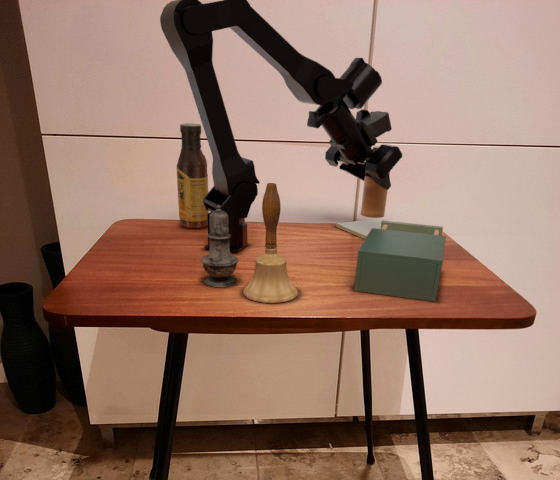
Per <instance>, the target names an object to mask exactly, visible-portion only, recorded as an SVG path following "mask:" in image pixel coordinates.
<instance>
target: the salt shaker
mask: <svg viewBox="0 0 560 480" xmlns="http://www.w3.org/2000/svg"><path fill="white" fill-rule="evenodd" d="M220 208H221V207H220V205H219V204H218V205H217V210H215V211H213V212H211V213H210V212H209V213H210V215H209V225H210V233H209V234H208V233H207V234H206V236H207V238H208V237H209V242H210V249H209V250H208V254H207V255H204V256H202V257H201V259H200V262H201V263H202V267H203V270H204V272H205V273H207V274H208V275H207V276H206V277H205V278H203V280H202V281H203V284H204V285H206V286H209V287H213V288H228V287H232V286H234V285H237V283H238V280H237V278H235V277H234V276H232V275H233V274H234V273H235V271H236V269H237V266H238V263H239V257H237V256H236V255H233V254H231V253H232V252H230V249H229V238H230V237H231V234H229V219H228V214H227V213H226V212H224V211H222V210H221V209H220Z"/></svg>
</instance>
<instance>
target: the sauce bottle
mask: <svg viewBox="0 0 560 480" xmlns="http://www.w3.org/2000/svg"><path fill="white" fill-rule="evenodd" d="M179 132H180V135H181V137H180V138H181V145H180V146H181V149H180V152H179V156H178V159H177V164H176V183H177V202H178V204H177V205H178V218H179V224H180V225H181V227H183V228H185V229H204V228H206V227H208V226H207V214H208V213H210V211H207V210H206V209H205V206H204V203H203V198H204V197H205V196H206V195H207V194H208V192H209V175H208V174H209V173H208V160H207V157H206V155H205V154H204V153H203V150H202V149H201V148H202V143H201V142H202V140H201V135H202V125H201V124H200V123H193V122H191V123H190V122H186V123H181V124H180V125H179Z"/></svg>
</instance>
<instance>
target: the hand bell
mask: <svg viewBox="0 0 560 480" xmlns="http://www.w3.org/2000/svg"><path fill="white" fill-rule="evenodd" d="M261 203H262V204H261V209H262V210H261V213H262V219H263V223H264V226H265V241H264V243H265V245H264V248H265V249H264V253H263V254H261V255H259V256H257V258H256V259H255V265H254V272H253V275H252V277H251V280H250V281H249V282H248V284H247V285H245V286H244V289H243V290H242V293H243V296H244V297H246V298H247V299H249V300H251V301H254V302H258V303H265V304H279V303H285V302H290V301H292V300H294V299H295V298H296V297H298V295H299V291H298V289H297V287H296V286H295V285H294V284H293V283H292V281H291V280H290V277H289V273H288V267H287V260H286V258H285V257H284V256H283V255H281V254H278V244H277V241H278V239H277V229H278V224H279V221H280V217H281V198H280V194H279V191H278V187H277V183H275V182H268V183H266V187H265V191H264V194H263V197H262V202H261Z"/></svg>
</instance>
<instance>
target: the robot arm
mask: <svg viewBox="0 0 560 480" xmlns="http://www.w3.org/2000/svg"><path fill="white" fill-rule="evenodd" d="M159 23H160V27H161V31H162V33H163V35H164V37H165V39H166V41H167V43H168V45H169V47H170V49H171V51H172V52H173V54H174V56H175V57H176V59H177V60H178V62H179V63H180V65H181V66H182V68H183V69H184V72H185V74H186V77H187V79H188V80H187V81H188V84H189V86H190V87H189V88H190V90H191V93H192V96H193V99H194V102H195V106H196V109H197V112H198V115H199V118H200V121H201V124H202V125H201V126H202V127H203V131H204V134H205V137H206V140H207V143H208V147H209V149H210V153H211V155H212V168H211V175H212V181H213V182H212V183H213V186H212V188H210V190H208V194H207V195H206V196H205V197H204V198H203V203H204V206H205V209H206V210H207V211H209V213H208V214H207V226H206V227H207V235H208V234H209V233H210V225H209V215H210V213H211V212H213V211H215V210H217V205H218V204H219V205H220V207H221V208H220V209H221V210H222V211H224V212H226V213H227V214H228V219H229V234H231V237H230V238H229V249H230V253H233V254H237V253H239V252H240V251H241V250H243V249H244V248H245V247H247V246H248V244H249V243H248V223H247V222H246V219H247V218H248V217H249V216H248V215H249V213H250V210H251V207H252V204H253V203H254V202H255V200H256V198H257V196H258V194H259V189H258V185H259V184H261V182H260V180H259V179H258V178H257V175H256V169H255V164H254V161H253V160H252V159H248V158H246V157H243V156H241V154H240V152H239V150H238V147H237V143H236V139H235V136H234V133H233V130H232V126H231V122H230V119H229V116H228V115H229V114H228V112H227V108H226V106H225V105H226V104H225V102H224V98H223V95H222V91H221V88H220V85H219V80H218V77H217V75H216V70H215V67H214V62H213V56H214V36H213V32H215V31H219V30H225V29H231V30H232V31H233V33H235V34H236V35H237V36H238V37H239V38H240V39H242V40H243V42H245V43H246V44H247V45H248V46H249V47H250V48H252V49H253V51H255V52H256V53H257V54H258V55H259V56H260V57H262V58H263V60H265V61H266V62H267V63H268V64H269V65H270V66H272V67H273V69H274V70H276V71H277V72H278V73H279V74H280V75H281V77H282V78H283V81H284V83H285V85H286V87H287V88H288V90H289V91H290V92H291V93H292V96H294V97H295V98H296V100H297V101H298V102H300V103H302V104H307V105H308V104H310V105H317V106H318V107H317V108H316V109H315V110H309V111H308V118H307V122H306V126H307V127H308V128H312V129H313V128H314V129H319V128H320V127H322V128H323V130H324V131H325V133H326V134H327V135H328V137H329V138H330V140H329V141H328V144H329V145H330V146H329V148H328V149H327V150H326V151H325V155H324V159H325V161H326V162H327V164H328V165H329V166H332V167H335V168H336V167H338V166H339V167H338V169H339V170H340V171H343V172H345V173H347V174H349V175H351V176H352V177H355V178H357V179H359V180H361V181H363V182H364V179H365V176H366V177H367V178H369V179H370V180H372V181H374V182H375V183H377V184H378V185H380V186H382V187H383V188H385V189H387V190H389V189H390V188H391V187H392V183H391V178H390V176H389V172H390V173H391V171H392V170H393V168H394V167H395V166H396V165H397V164H398V163H399V161H401V159H402V158H403V152H402V151H401V149H400V147H399V146H397V145H391V144H380V145H379V146H378V147H379V148H378V149H377V150H375V149H373V147H375V146H376V144H377V143H378V138H379V137H380V136H382V135H384V134H385V133H387V132H388V133H389V132H391V131H392V123H391V118H390V114H389V112H388V111H379V110H376V111H369V110H368V109H363V107H364V106H365V105H366V104H367V102H368V101H369V100H370V99H371V98H372V97H373V95H375V93H376V92H377V90H378V89H379V88H380V87H381V86H382V84H383V81H382V80H383V79H382V77H381V74H380V72H378V70H376V69H375V68H374V67H373V66H372V65H370V64H369V63H367V62H366V61H365V60H364V57H354V59H353V60H352V61H351V62H350V64H349V65H348V67H347V69H346V70H345V71H344V72H343V73H342V75H341V76H340V77H336V76H335V74H334V73H333V72H332V71H331V70H330V69H328V68H327V67H326V66H324V65H323V64H321V63H320V62H318V61H315V60H314V59H311V58H309V57H307V56H305V55H303V54H302V53H300V52H299V51H298V50H297V49H296V48H295V47H294V46H293V45H292V44H291V43H290V42H289V41H288V40H287V39H286V38H284V36H283V35H282V34H280V33H279V31H277V30H276V29H275V28H274V27H273V26H272V25H271V24H270V23H269V22H268V21H267V20H266V19H264V17H263V16H261V14H260V13H259V12H257V11H256V10H255V9H254V8H253V7H252V6H251V4H250V2H249V1H248V0H218V1H212V2H205V3H202V2H201V1H200V0H172V1H170V2H167V3H166V5H165V6H164V7H163V9H162V11H161V14H160V16H159ZM354 109H357V110H358V111H356V115H355V116H354V114H353V112H352V111H351V110H354ZM365 170H366V171H367V173H366V174H365ZM203 249H204V250H208V251H209V249H210V242H209V237H208V236H207V244H206V245H204V248H203Z"/></svg>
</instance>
